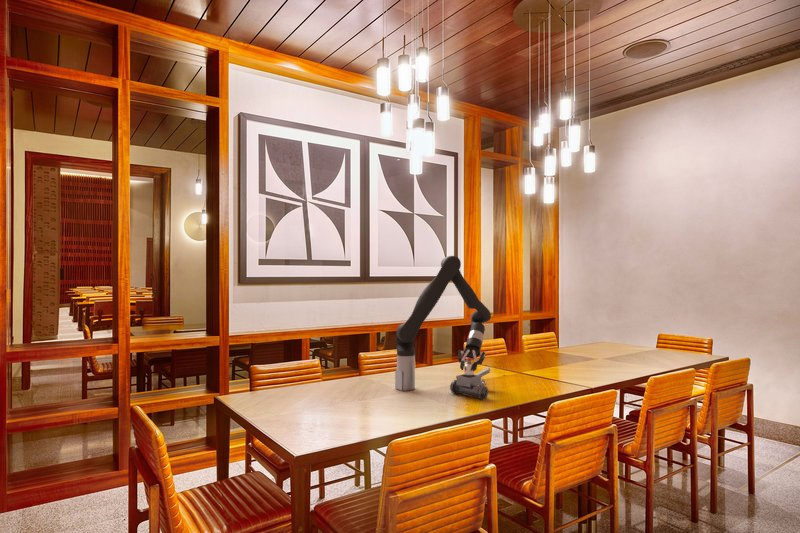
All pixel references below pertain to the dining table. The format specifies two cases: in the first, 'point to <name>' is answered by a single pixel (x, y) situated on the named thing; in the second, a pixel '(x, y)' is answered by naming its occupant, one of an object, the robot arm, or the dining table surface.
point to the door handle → (483, 375)
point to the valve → (469, 368)
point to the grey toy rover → (469, 386)
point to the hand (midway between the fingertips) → (467, 369)
